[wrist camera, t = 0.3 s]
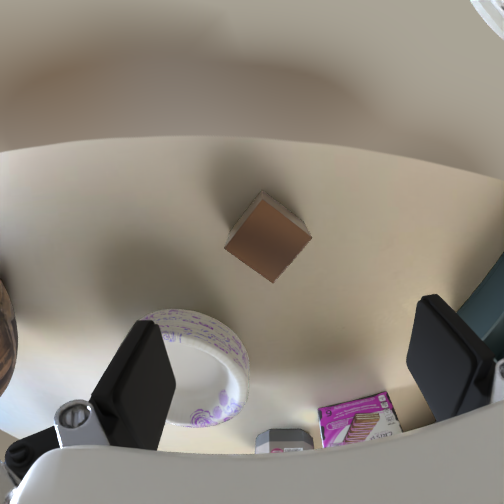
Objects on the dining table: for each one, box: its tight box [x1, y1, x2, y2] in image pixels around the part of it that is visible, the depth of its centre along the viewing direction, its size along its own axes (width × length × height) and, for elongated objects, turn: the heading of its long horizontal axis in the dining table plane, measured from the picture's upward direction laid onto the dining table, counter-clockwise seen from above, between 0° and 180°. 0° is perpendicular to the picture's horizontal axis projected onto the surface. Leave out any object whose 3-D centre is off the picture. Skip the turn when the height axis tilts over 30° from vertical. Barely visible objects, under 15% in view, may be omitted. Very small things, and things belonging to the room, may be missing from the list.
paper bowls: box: [117, 309, 250, 427], centre depth 33 cm, size 15×15×8 cm
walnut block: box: [224, 190, 312, 283], centre depth 29 cm, size 6×6×6 cm
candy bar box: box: [318, 392, 403, 448], centre depth 33 cm, size 11×5×16 cm, turn 104°
